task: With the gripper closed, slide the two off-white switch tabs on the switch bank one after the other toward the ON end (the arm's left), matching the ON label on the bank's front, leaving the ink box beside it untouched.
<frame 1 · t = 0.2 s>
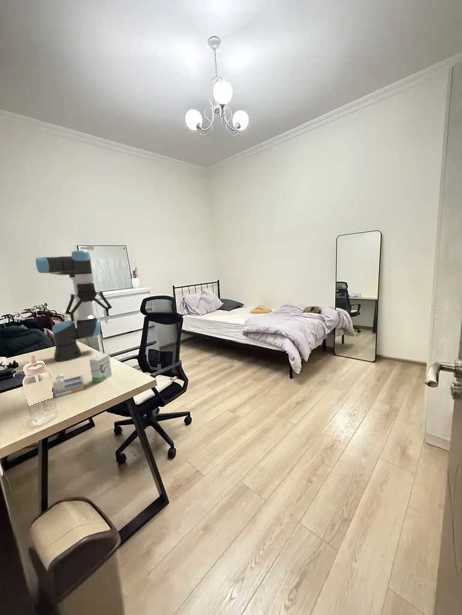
hand: (91, 325, 126), 28 cm above the table, fingers open, 13 cm apart
switch bank: (69, 387, 120), on the table
ink box: (102, 379, 128), on the table
tab B: (60, 384, 115), point 4 cm above the table, slide at 0.0 cm
tab A: (60, 379, 120), point 4 cm above the table, slide at 0.0 cm
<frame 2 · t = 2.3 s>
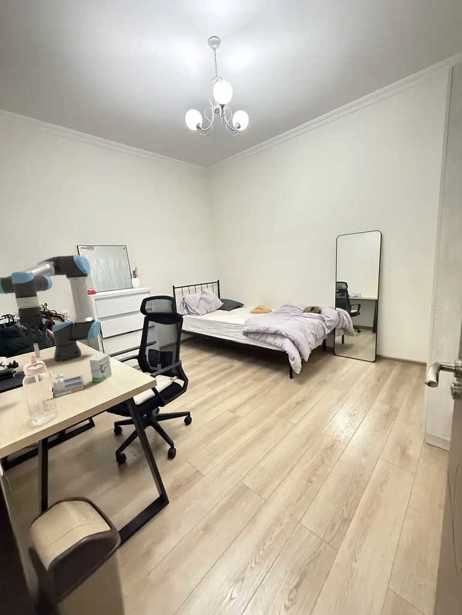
hand: (38, 357, 114), 17 cm above the table, fingers closed
nothing on the table moved.
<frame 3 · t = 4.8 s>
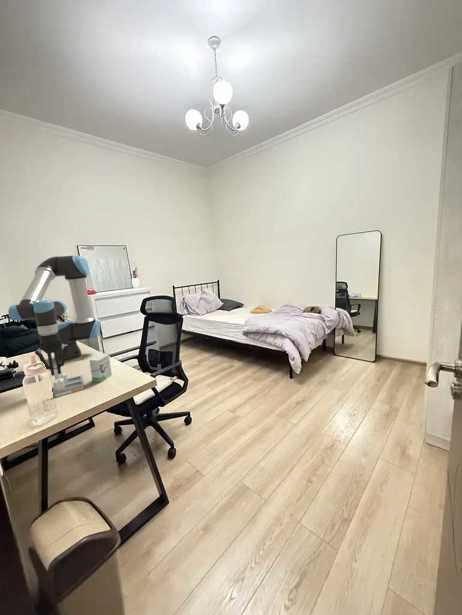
hand: (57, 380, 120), 4 cm above the table, fingers closed
tab A: (63, 378, 121), point 4 cm above the table, slide at 1.3 cm, touching gripper
everything else where it was.
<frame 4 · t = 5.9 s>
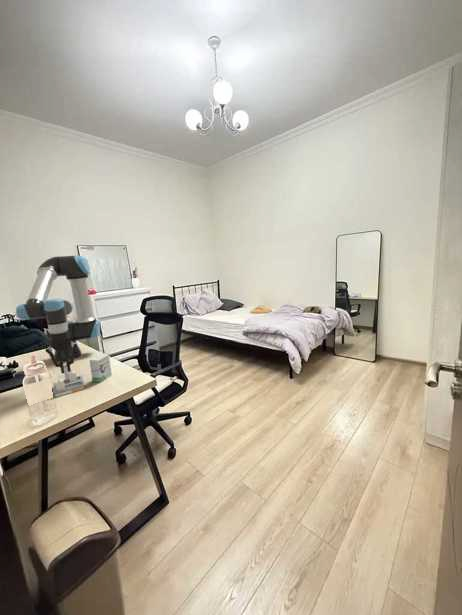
hand: (67, 378, 122), 4 cm above the table, fingers closed
tab A: (72, 375, 123), point 4 cm above the table, slide at 5.2 cm, touching gripper
everything else where it was.
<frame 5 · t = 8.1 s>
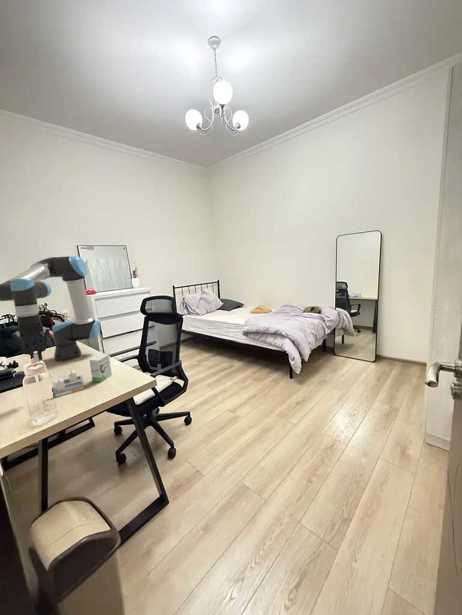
hand: (38, 367, 109), 14 cm above the table, fingers closed
tab A: (72, 375, 123), point 4 cm above the table, slide at 5.2 cm
everything else where it was.
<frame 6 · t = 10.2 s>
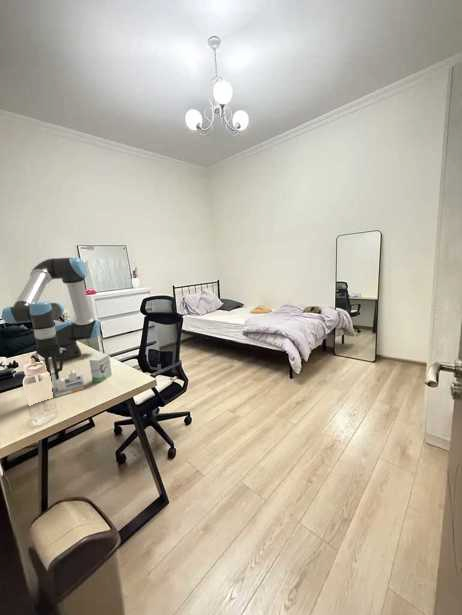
hand: (55, 386, 114), 4 cm above the table, fingers closed
tab B: (61, 384, 115), point 4 cm above the table, slide at 0.4 cm, touching gripper
everything else where it was.
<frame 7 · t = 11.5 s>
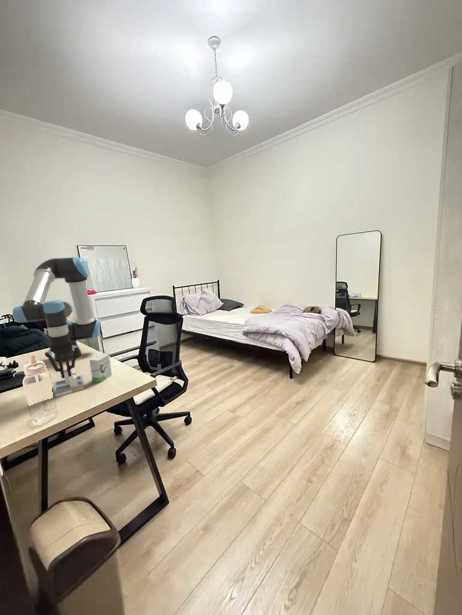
hand: (67, 383, 116), 4 cm above the table, fingers closed
tab B: (73, 380, 117), point 4 cm above the table, slide at 5.2 cm, touching gripper
everything else where it was.
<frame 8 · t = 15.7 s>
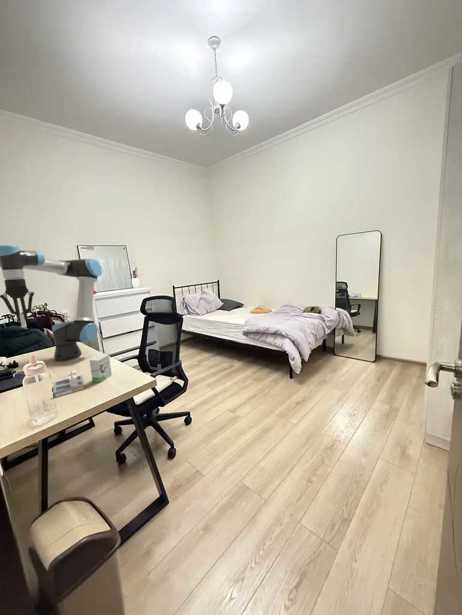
hand: (24, 327, 122), 29 cm above the table, fingers closed
tab B: (73, 380, 117), point 4 cm above the table, slide at 5.2 cm
everything else where it was.
at the end: tab A slide at 5.2 cm; tab B slide at 5.2 cm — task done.
